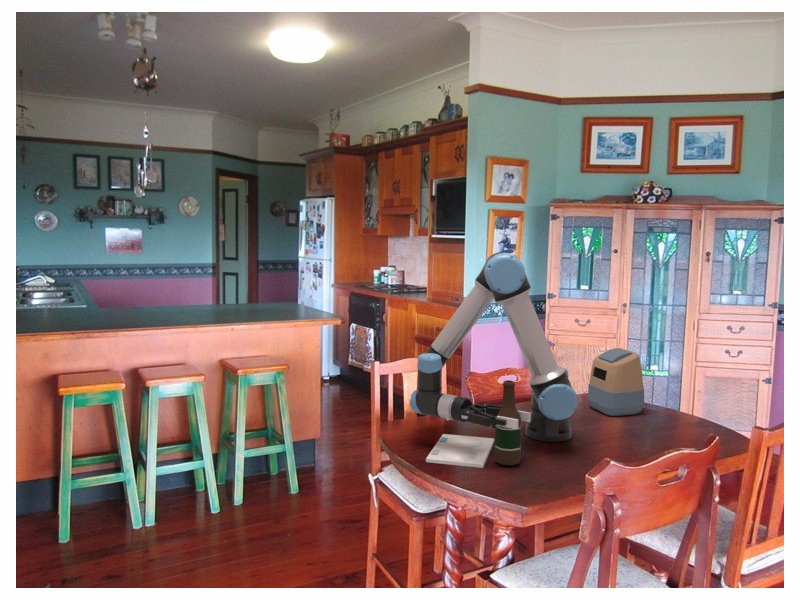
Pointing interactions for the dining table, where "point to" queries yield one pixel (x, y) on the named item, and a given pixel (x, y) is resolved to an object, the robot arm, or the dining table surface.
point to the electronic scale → (461, 450)
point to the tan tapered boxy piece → (616, 383)
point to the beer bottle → (508, 430)
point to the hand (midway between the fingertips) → (523, 420)
